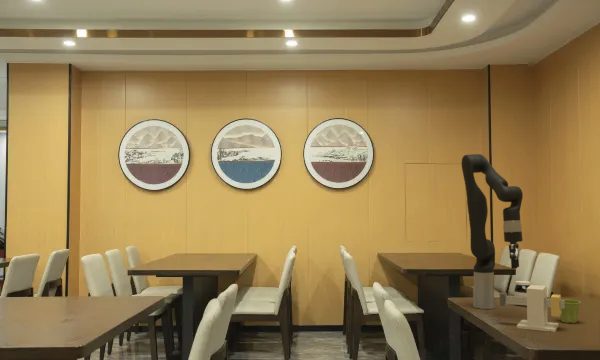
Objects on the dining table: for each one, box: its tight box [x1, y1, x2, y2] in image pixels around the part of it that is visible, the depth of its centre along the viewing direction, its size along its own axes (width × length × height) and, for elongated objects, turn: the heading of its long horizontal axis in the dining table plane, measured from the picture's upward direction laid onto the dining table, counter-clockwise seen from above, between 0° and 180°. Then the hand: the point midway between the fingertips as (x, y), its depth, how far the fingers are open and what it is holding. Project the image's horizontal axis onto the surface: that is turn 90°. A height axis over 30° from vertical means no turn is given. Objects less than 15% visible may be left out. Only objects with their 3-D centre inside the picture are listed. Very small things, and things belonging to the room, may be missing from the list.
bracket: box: [516, 284, 559, 333], centre depth 216 cm, size 14×13×16 cm
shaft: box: [499, 292, 566, 309], centre depth 217 cm, size 24×5×5 cm, turn 59°
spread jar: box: [513, 280, 531, 307], centre depth 263 cm, size 12×11×12 cm
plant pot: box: [559, 299, 581, 324], centre depth 225 cm, size 9×9×9 cm
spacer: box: [550, 294, 562, 318], centre depth 212 cm, size 3×8×8 cm, turn 149°
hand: (515, 267), depth 233 cm, fingers open, 8 cm apart
